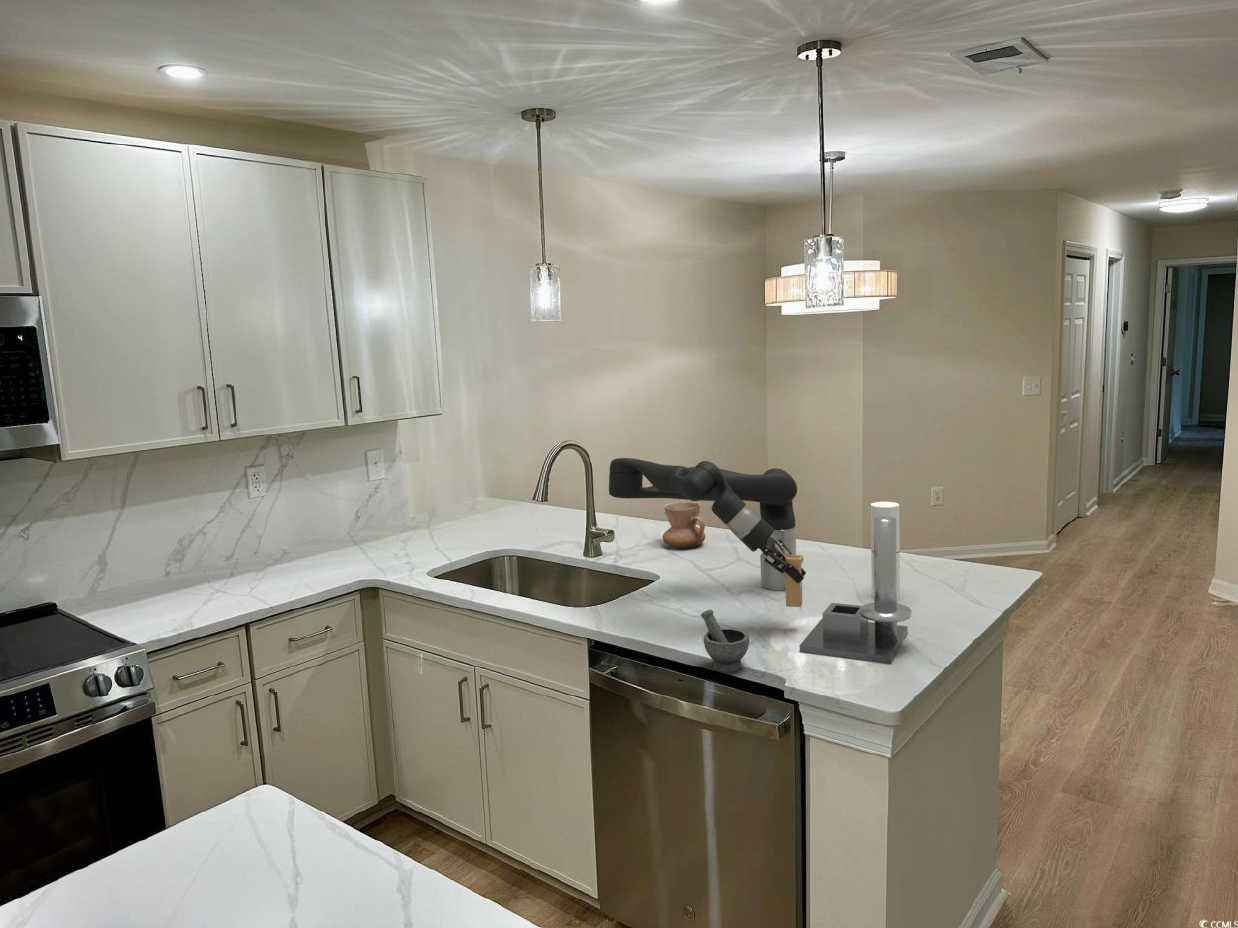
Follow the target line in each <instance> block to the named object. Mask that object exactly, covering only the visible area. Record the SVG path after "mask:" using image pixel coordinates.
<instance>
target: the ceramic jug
mask: <svg viewBox="0 0 1238 928" xmlns="http://www.w3.org/2000/svg"><path fill="white" fill-rule="evenodd" d="M663 509H664V515H665V516H666V518H667V520H668V522H669V524H670V527H669V528H668V529H666V531H665V532H664V533H663V534H662V540H663V543H664V544H665V545H667V546H669V547H672V548H675V549H676V548H677V549H687V548H689V549H690V548H694V547H697V546H699V545H701V544H702V543H703V542H704V541H705V540H706V533H705V527H706V523H705V521H704V519H703V517H701V516H699V515H700V512H701V504H700V503H699V502H697V501H677V502H676V501H674V502H671V503H667V504H665V505H664V508H663ZM697 522H698V524H699V527H698V526H696V524H697Z"/></svg>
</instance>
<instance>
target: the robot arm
mask: <svg viewBox="0 0 1238 928" xmlns="http://www.w3.org/2000/svg"><path fill="white" fill-rule="evenodd" d="M643 476H644V477H645V479H646V480H648V481H649V483H650V484H651V486H647V487H646V486H645V487H643V478H644V477H643ZM797 493H798V486H797V483H796V481H795V479H794V478H793V476H792V475H791V474H789V473H788V472H787V471H785V470H784V469H782V468H777V467H776V468H770V469H767V470H766V471H765V472H764V473H763V474H750V473H749V474H746V473H742V472H741V473H739V472H737V471H732V470H727V469H723V468H720V467H718V466H717V465H716V464H714V463H713V462H711V461H709V460H702V461H699V462H698V463H697V464H696V465H695V466H690V467H686V466H685V465H684V466H683V465H671V464H670V465H668V464H660V463H657V462H653V461H647V460H643V459H640V458H639V459H638V458H632V457H617V458H614V459H612V460H611V462H610V465H609V476H608V495H610V496H611V497H613V498H616V499H617V498H618V499H674V500H687V501H690V502H698V501H702V502H713V504H712V505H711V511H712V512H713V514H714V515H715V516H716V517H717V518H718V519H719V520H720V521H721V522H722V523H723V524H724V525H725V526H726V527H727V528H728V529H729V530H730V531H731V533H732V534H733V535H734V536H735V537H736V538H737V539H739V541H741V542H742V544H744V546H745V547H747V548H748V549H749V550H750V552H752V553H753V552H756V551H757V550H760V551H761V552H762V553H760V584H761V586H760V587H761V588H765V589H766V590H772V591H786V588H785V573H787V574H788V575H789V576H790V577H791V578H792V579H793V580H794V581H795V582H796V583H800V582H801V581H802V582H803V580H804V578H805V576H806V574H807V573H806V572H807V571H805V569H804V568H803V567H801V572H802V574H801V573H800V572H799V571H798V570H797V569H796V568H795V567H794V566H792V564H790V563H789V562H788V561H787V560H786V559H787V556H786V555H797V537H796V536H797V535H796V534H797V533H796V529H797V528H796V516H795V513H794V506H793V500H794V499H795V497H796V495H797ZM744 501H746V502H755V503H759V513H760V515H759V513H757V512H756V511H755V510H754V509H753V508H751V507H750V506H749V505H748V504H746V503H745V502H744Z"/></svg>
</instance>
